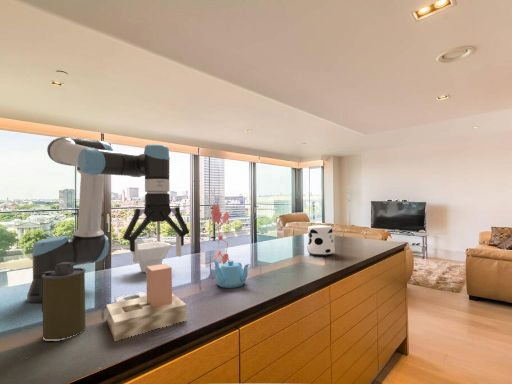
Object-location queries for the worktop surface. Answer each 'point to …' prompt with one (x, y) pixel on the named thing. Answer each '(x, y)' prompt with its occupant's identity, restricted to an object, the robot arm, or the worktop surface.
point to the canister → (63, 301)
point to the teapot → (230, 274)
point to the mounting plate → (143, 316)
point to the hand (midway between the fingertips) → (158, 258)
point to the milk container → (320, 240)
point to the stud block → (159, 284)
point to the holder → (130, 297)
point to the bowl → (152, 253)
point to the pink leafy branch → (215, 219)
